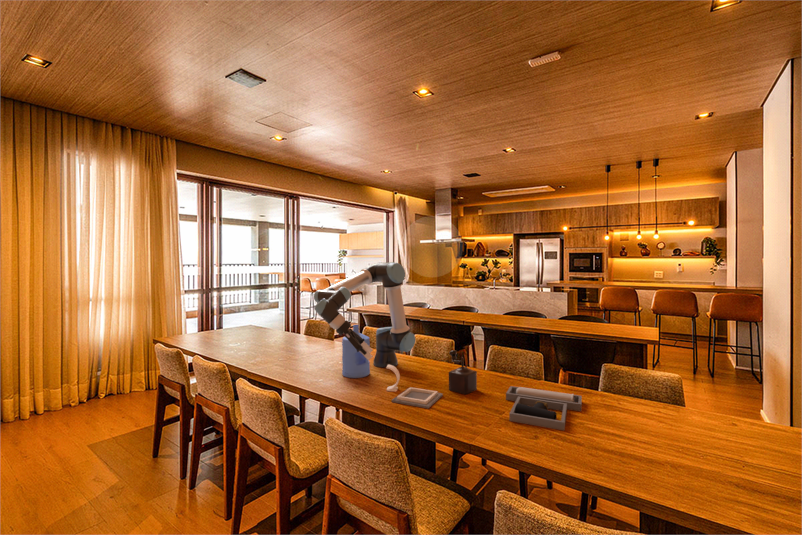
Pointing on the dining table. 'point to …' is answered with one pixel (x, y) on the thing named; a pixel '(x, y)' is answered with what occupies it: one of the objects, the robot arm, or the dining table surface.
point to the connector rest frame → (538, 420)
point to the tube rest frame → (570, 405)
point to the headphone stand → (394, 369)
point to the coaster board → (418, 397)
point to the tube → (545, 394)
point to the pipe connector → (536, 410)
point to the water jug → (354, 358)
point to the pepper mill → (462, 377)
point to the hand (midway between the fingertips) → (370, 355)
